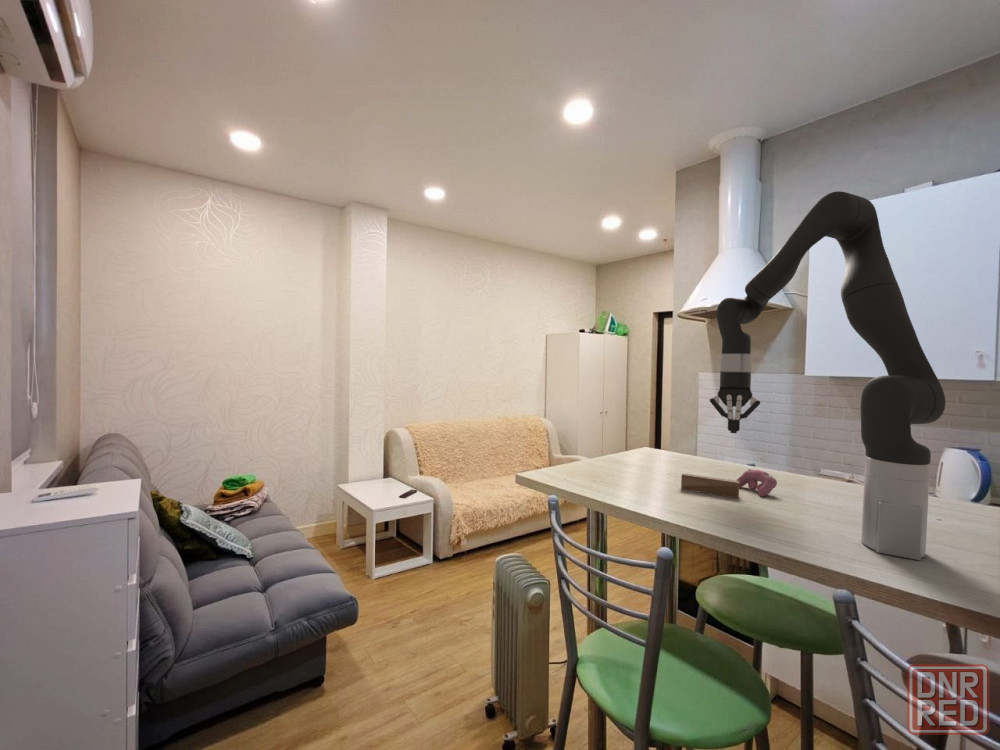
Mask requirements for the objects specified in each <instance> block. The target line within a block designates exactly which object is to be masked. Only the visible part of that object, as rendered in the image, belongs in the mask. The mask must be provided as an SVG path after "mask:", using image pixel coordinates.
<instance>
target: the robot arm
mask: <svg viewBox="0 0 1000 750" xmlns="http://www.w3.org/2000/svg"><path fill="white" fill-rule="evenodd" d="M825 237H827V238H832V239H835V240H836V241H837V242H838V244H839V247H840V249H841V251H842V254H843V257H844V260H845V271H844V274H843V277H842V278H843V279H842V282H841V286H840V287H841V288H840V297H841V301H842V305H843V308H844V311H845V314H846V317H847V320H848V322H849V324H850V326H851V327H852V328H853V329H854V331H855V332H856V333H857V334H858V335H859V337H861V338H862V339H863V340H864V341H865V343H867V345H869V346H870V347H871V348H872V349H873V351H875V352H876V354H877V355H878V357H880V359H881V361H882V363H883V365H884V367H885V370H886V373H887V375H880V376H879V375H878V376H876V377H873V378H872V379H870V380H869V381H868V382H867V383H866V384H865V386H864V388H863V390H862V393H861V398H860V435H861V440H862V443H863V445H864V448H865V456H864V457H865V458H864V473H863V474H864V478H863V498H862V499H863V500H862V518H861V519H862V523H861V543H862V544H863V545H865V547H869V548H870V549H872V550H874V551H875V552H876V553H879V554H883V555H888V556H889V555H890V556H895V557H899V558H900V557H901V558H907V559H911V560H918V561H922V558H924V557H925V556H926V552H927V551H926V550H927V534H928V533H927V530H928V512H929V493H930V492H929V491H930V478H931V477H930V474H931V460H932V459H931V455H932V453H931V450H930V448H929V447H927V446H926V445H924V444H921V443H919V442H917V441H916V440H915V439H914V437H913V436H912V426H911V425H925V424H932V423H934V422H936V421H937V420H939V419H940V418H941V416H942V415H943V414H944V411H945V408H946V396H945V392H944V389H943V387H942V385H941V383H940V380H939V379H938V377H937V375H936V373H935V371H934V370H933V367H932V366H931V363H930V362H929V360H928V358H927V356H926V354H925V352H924V350H923V348H922V345H921V343H920V341H919V338H918V336H917V332H916V329H915V328H914V325H913V323H912V321H911V318H910V315H909V312H908V310H907V306H906V302H905V300H904V297H903V294H902V291H901V288H900V286H899V283H898V281H897V279H896V275H895V273H894V271H893V268H892V265H891V262H890V260H889V257H888V254H887V252H886V249H885V247H884V242H883V237H882V234H881V227H880V223H879V218H878V213H877V210H876V207H875V205H874V204H873V203H872V202H871V200H869V199H868V198H865V197H863V196H859V195H856V194H854V193H850V192H846V191H842V190H841V191H838V190H837V191H833V192H829V193H826V195H824V196H823V197H821V198H820V199H819V200H818V201H817V202H816V203H815V204H814V205H813V206H812V207H811V209H810V210H809V211H808V212H807V214H806V215H805V216H804V217H803V218H802V220H801V221H800V222H799V224H798V226H796V228H795V229H794V230H793V232H792V233H791V234H790V236H789V237H788V238H787V240H786V241H785V242H784V243H783V245H782V246H781V247H780V248H779V250H778V251H777V252H776V253H775V254H774V255H773V256H772V258H771V259H770V260H769V261H768V262H767V263H766V264H765V266H763V267H762V268H761V269H760V270H759V271H758V272H757V273H756V274H754V276H753V277H752V278H751V279H750V280H749V281H748V282H747V283H746V284H745V287H744V292H745V294H746V296H744V297H743V298H742V297H741V298H740V297H733V296H732V297H726V298H725V297H724V299H722V300H721V301H720V302H719V304H718V305H717V309H716V321H717V325H718V329H719V333H720V337H721V358H720V364H719V365H720V367H719V368H720V371H719V373H720V375H719V390H718V391H717V395H715V396H714V397H710V398H709V402H710V404H711V405H712V406H713V407H714V409H715V410H716V411H717V412H718V414H720V416H721V417H724V418H726V419H727V430H728V431H729V432H730V434H737V433H738V432H739V431H740V430H741V429H740V425H741V420H742V419H747V418H748V417H749V416H750V415H751V413H753V412H754V411H755V410H756V409H757V407H759V405H760V404H761V401H760V400H759V399H757V398H756V397H754V396H753V392H752V390H751V383H752V382H751V381H752V358H751V357H752V356H751V352H752V350H751V348H752V346H751V345H752V344H751V343H752V342H751V335H750V334H749V333H747V332H745V331H743V330H742V326H741V325H747V324H749V323H751V322H753V321H755V320H756V319H757V318H758V317H759V316H760V315H761V314H762V312H763V310H764V309H765V307H767V305H768V303H769V301H770V300H771V299H772V298H774V297H775V296H776V295H777V294H778V293H779V292H780V291H782V290H783V289H784V288H785V287H786V286H787V285H788V284H789V283H790V281H792V279H793V278H794V277H795V274H796V272H798V271H797V270H798V268H799V266H800V263H801V262H802V260H803V258H804V256H805V255H806V254H807V252H809V250H810V249H811V248H812V247H814V245H816V244H817V243H818V242H820V241H821V240H822V239H824V238H825ZM720 400H721V402H722V403H723V404H724V405H725V406H726V408H727V412H726V411H725V410H724V409H723V407H722V406H721V404H719V403H720ZM749 401H750V402H749ZM748 402H749V405H750V406H749V407H748V408H747V409H746V410H745V411H744V412H743V413H742V408H743V407H744V406H745V405H746V404H747V403H748ZM734 407H735V413H734Z"/></svg>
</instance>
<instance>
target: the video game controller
mask: <svg viewBox="0 0 1000 750" xmlns="http://www.w3.org/2000/svg"><path fill="white" fill-rule="evenodd" d="M735 481H739V488H742V487H745V486H746V485H747V487H748V488H749V489H751V490H753V491H755V490H757V492H758V495H759V496H760V497H765V496H767V495H769V494H770V493H771V492H772V491H773V489H775V488H776V487H777V484H778V481H777V479H776V478H775V477H774V476H772V475H771V473H770V474H769V473H768V472H766V471H764V470H760V469H751V468H750V469H748V470H746V471H744V472H743V473H742V474H741V475H740V476H739V477H738V478H737V479H736V480H735ZM758 482H760V483H759V484H758Z"/></svg>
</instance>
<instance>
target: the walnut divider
mask: <svg viewBox="0 0 1000 750" xmlns="http://www.w3.org/2000/svg"><path fill="white" fill-rule="evenodd" d="M680 483H681V487H680V489H681V490H685V491H690V490H692V492H697V491H699V492H698V493H703V492H705V493H704V494H709V493H711V494H710V495H716V494H717V496H722V495H723V496H724V497H729V496H730V497H731V498H736V499H739V497H740V487H739V481H736V480H734V479H725V478H719V477H712V476H705V475H698V474H697V475H696V474H692V473H691V474H689V473H684V472H683V473H681V482H680ZM723 496H722V497H723ZM730 497H729V498H730Z"/></svg>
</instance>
